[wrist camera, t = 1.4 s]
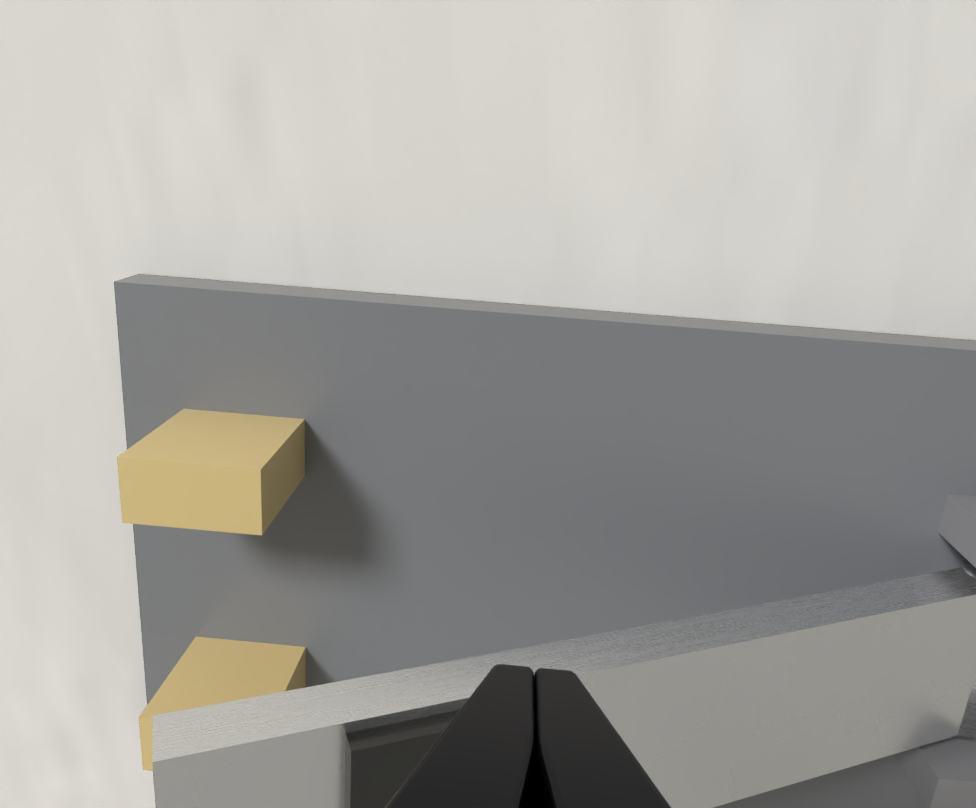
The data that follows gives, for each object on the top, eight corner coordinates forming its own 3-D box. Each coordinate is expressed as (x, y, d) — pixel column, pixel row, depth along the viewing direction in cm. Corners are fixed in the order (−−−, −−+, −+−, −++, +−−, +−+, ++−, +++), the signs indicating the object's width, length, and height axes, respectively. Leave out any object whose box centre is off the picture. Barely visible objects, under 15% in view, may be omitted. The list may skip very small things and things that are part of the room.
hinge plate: (1131, 352, 19) (1302, 411, 14) (977, 817, 23) (1074, 966, 19) (138, 274, 19) (29, 306, 15) (170, 736, 24) (92, 860, 20)
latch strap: (990, 556, 19) (1056, 590, 18) (948, 694, 20) (1007, 735, 19) (153, 707, 12) (151, 783, 11) (167, 901, 13) (168, 992, 12)
